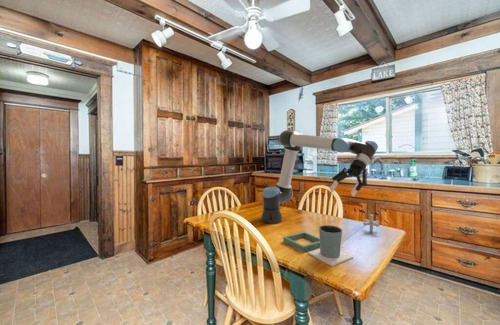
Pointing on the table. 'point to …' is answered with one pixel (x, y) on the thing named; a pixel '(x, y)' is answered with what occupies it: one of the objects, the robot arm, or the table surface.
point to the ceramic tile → (330, 261)
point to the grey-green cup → (330, 241)
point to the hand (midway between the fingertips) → (341, 192)
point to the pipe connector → (371, 222)
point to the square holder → (298, 246)
